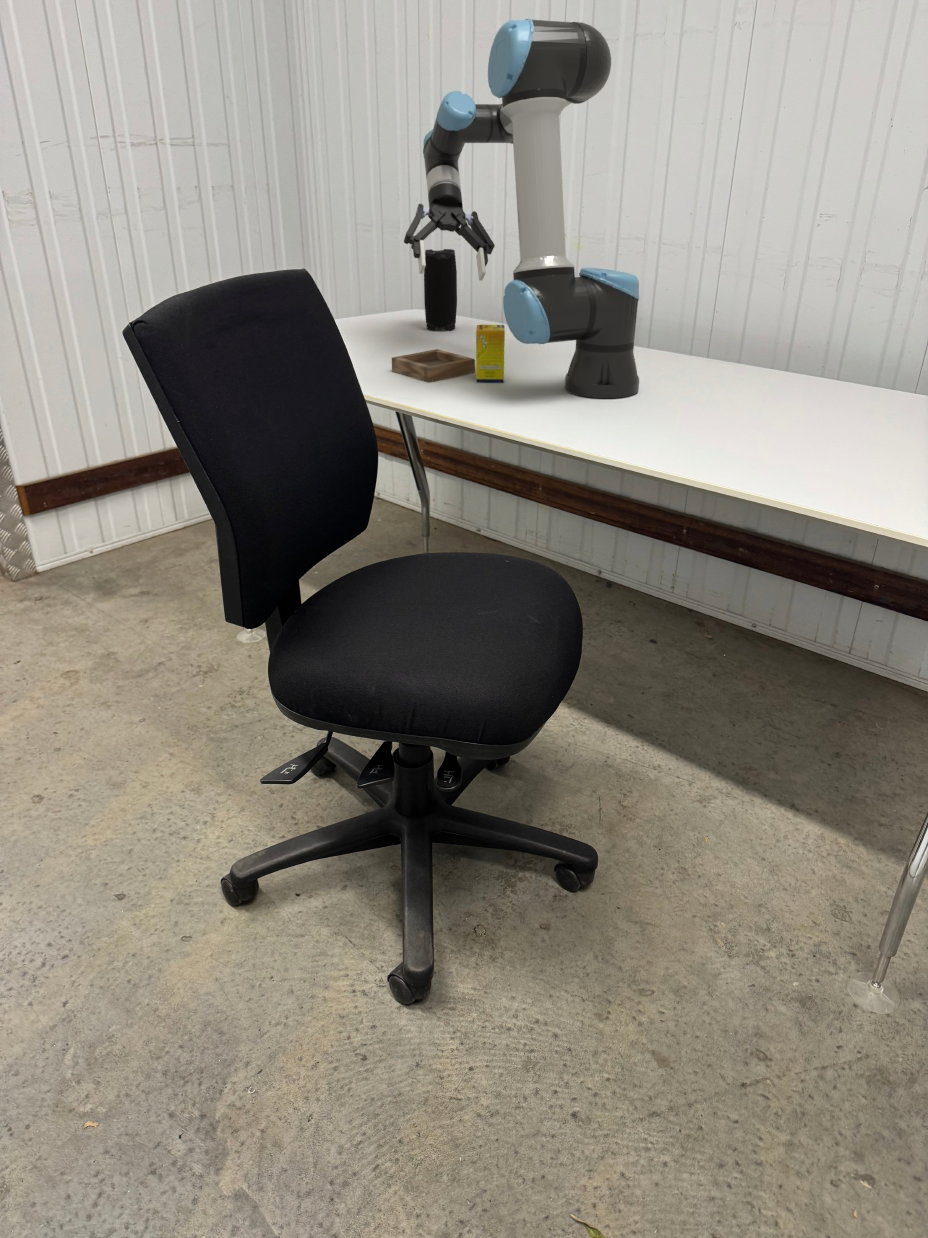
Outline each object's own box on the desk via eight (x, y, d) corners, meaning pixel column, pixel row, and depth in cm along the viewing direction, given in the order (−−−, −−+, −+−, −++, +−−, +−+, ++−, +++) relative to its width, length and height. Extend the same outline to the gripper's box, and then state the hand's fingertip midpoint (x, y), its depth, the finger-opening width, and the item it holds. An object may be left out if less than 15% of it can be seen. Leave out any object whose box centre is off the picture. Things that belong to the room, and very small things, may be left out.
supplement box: (476, 376, 193) (476, 323, 188) (503, 376, 193) (504, 324, 188) (475, 383, 188) (475, 329, 183) (503, 383, 188) (505, 329, 183)
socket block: (474, 372, 196) (475, 358, 194) (429, 382, 188) (428, 368, 187) (437, 362, 204) (437, 348, 203) (392, 371, 197) (391, 357, 195)
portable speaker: (453, 324, 243) (453, 247, 234) (459, 331, 235) (459, 252, 226) (422, 325, 242) (421, 248, 232) (427, 332, 234) (426, 252, 224)
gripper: (491, 212, 207) (501, 290, 201) (386, 198, 200) (393, 277, 193) (502, 188, 200) (512, 268, 194) (393, 172, 193) (400, 254, 187)
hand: (452, 273), depth 194 cm, fingers open, 13 cm apart
